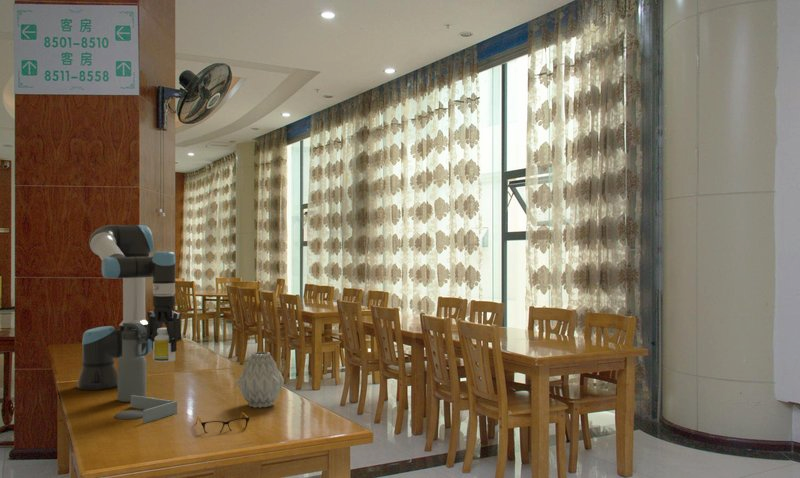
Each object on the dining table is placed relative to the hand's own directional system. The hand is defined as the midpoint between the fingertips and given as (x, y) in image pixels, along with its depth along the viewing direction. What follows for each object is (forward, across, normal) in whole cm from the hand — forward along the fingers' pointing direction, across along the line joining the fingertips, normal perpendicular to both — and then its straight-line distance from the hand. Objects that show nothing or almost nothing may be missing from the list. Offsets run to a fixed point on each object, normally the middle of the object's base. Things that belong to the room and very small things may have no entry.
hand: (164, 360), depth 240 cm
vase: (+16, +31, +15) cm, 38 cm away
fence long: (+16, +1, -7) cm, 17 cm away
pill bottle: (+1, 0, 0) cm, 1 cm away
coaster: (+16, +1, -15) cm, 22 cm away
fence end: (+16, +12, -13) cm, 24 cm away
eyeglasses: (+17, +36, -12) cm, 42 cm away
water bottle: (+16, -17, +2) cm, 24 cm away
